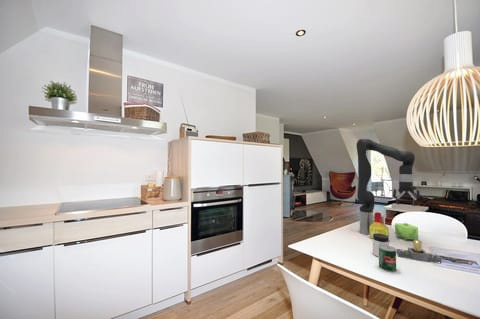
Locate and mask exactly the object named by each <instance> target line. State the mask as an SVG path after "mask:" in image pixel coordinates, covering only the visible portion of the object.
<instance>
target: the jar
mask: <svg viewBox="0 0 480 319" xmlns="http://www.w3.org/2000/svg"><path fill="white" fill-rule="evenodd" d="M389 238H390V237H388V236H387V235H384V234H373V238H372V255H373V256H375V257H377V258H379V246H380V245H387V246H390V239H389Z"/></svg>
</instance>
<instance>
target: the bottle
mask: <svg viewBox="0 0 480 319" xmlns="http://www.w3.org/2000/svg"><path fill="white" fill-rule="evenodd" d="M369 230H370V235H369V236H370V238H371V239H373V234H384V235H387V236H388V237H389V236H390V233H389V231H390V230H389V227H388V226H386V224H384V223H383V219H382V214H381V212H377V211H376V212H375V213H374V214H373V223H372V224H371V225H370V227H369ZM389 238H390V237H389Z"/></svg>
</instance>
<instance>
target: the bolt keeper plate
mask: <svg viewBox="0 0 480 319" xmlns="http://www.w3.org/2000/svg"><path fill="white" fill-rule="evenodd" d="M395 249H396V256H398V257H399V258H405V259H410V260H414V261H419V262H426V263H429V262H430V263H435V262H440V263H439V264H441V263H442V262H443V261H442V258H441V257H440V256H439V255H438V254H437V253H429V252H426V251H425V249H422V253H417V252H413V247H407V249H402V248H401V249H400V248H395Z"/></svg>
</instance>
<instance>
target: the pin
mask: <svg viewBox="0 0 480 319" xmlns="http://www.w3.org/2000/svg"><path fill="white" fill-rule="evenodd" d="M412 242H413V243H412V246H413V247H412V248H413V252H417V253H422V250H423V249H422V241H421V240H419V239H414V240H412Z"/></svg>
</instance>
